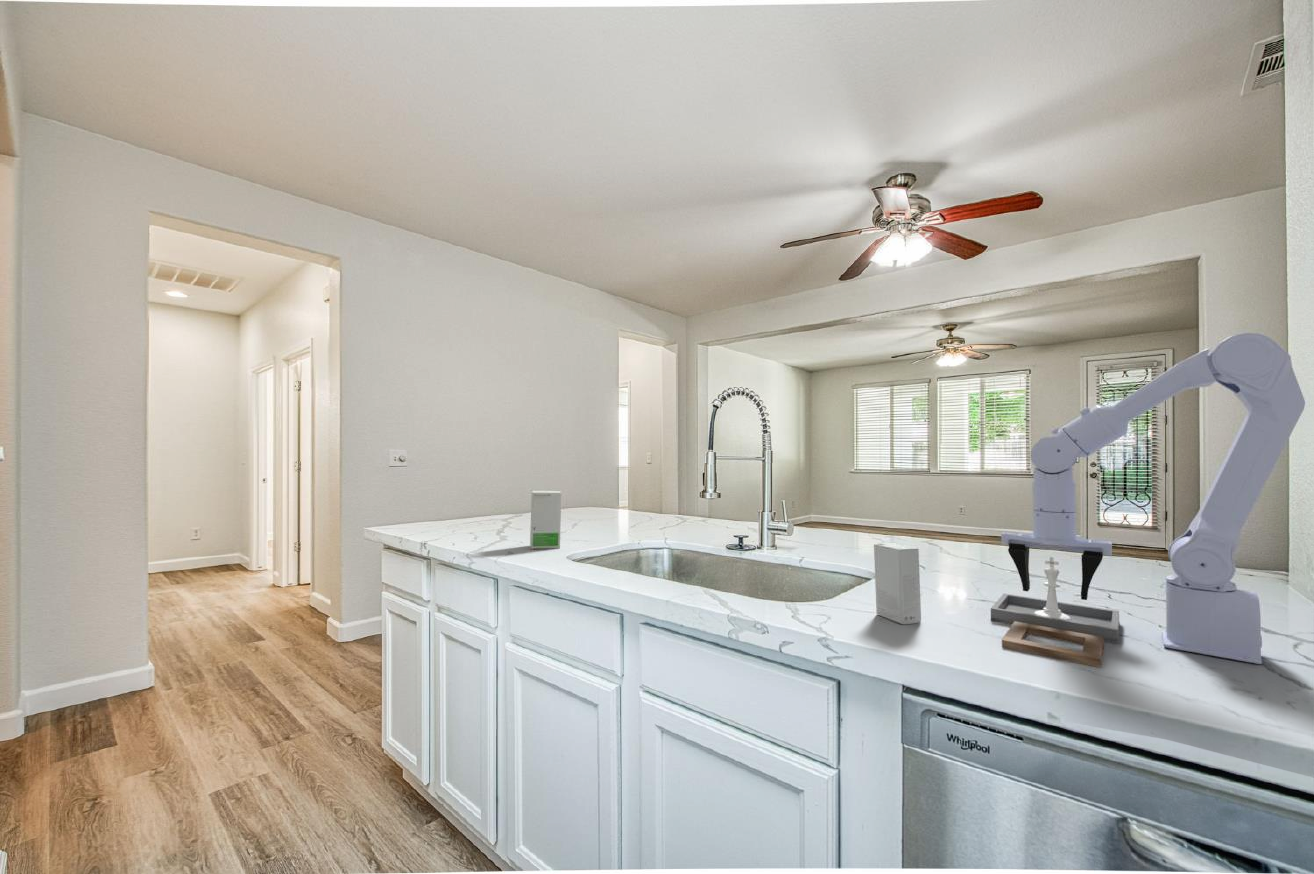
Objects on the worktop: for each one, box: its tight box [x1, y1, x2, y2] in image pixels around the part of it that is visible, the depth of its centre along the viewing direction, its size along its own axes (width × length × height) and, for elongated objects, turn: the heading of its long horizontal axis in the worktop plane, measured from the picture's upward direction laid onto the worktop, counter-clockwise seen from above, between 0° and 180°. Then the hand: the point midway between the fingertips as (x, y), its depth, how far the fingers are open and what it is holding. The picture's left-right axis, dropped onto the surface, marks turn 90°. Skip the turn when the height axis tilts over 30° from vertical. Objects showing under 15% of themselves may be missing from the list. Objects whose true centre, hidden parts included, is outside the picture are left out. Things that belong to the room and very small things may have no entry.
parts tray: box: [990, 593, 1120, 645], centre depth 90 cm, size 16×12×2 cm
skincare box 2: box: [873, 542, 922, 625], centre depth 92 cm, size 6×4×12 cm
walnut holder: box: [1001, 621, 1105, 668], centre depth 79 cm, size 11×11×1 cm
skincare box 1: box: [529, 490, 562, 550], centre depth 155 cm, size 8×7×16 cm
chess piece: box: [1034, 557, 1070, 620], centre depth 89 cm, size 5×5×10 cm
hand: (1054, 594), depth 90 cm, fingers open, 7 cm apart
